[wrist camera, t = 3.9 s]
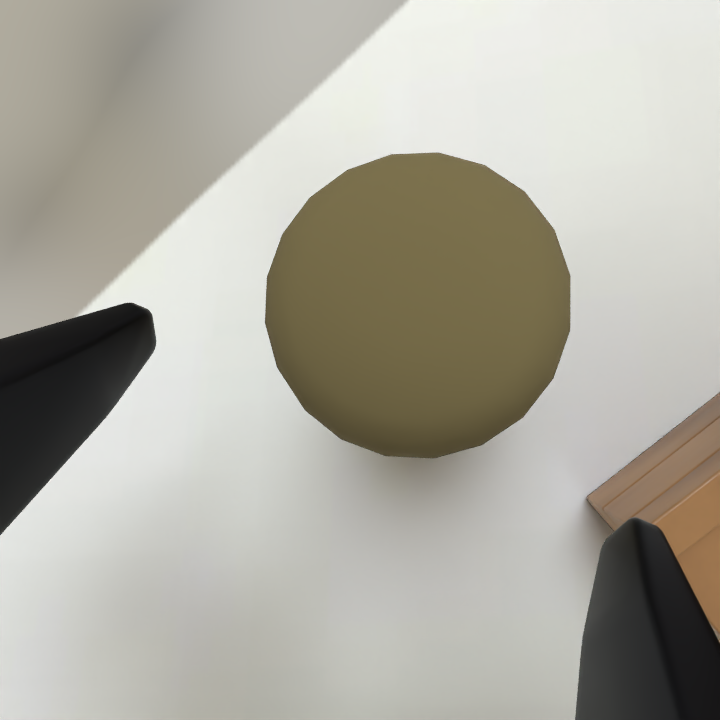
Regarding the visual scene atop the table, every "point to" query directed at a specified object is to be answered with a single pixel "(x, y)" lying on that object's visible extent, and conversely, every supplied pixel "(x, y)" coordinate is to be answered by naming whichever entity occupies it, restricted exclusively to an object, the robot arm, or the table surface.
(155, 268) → the table surface
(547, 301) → the olive pawn
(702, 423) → the shelf
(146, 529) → the table surface
